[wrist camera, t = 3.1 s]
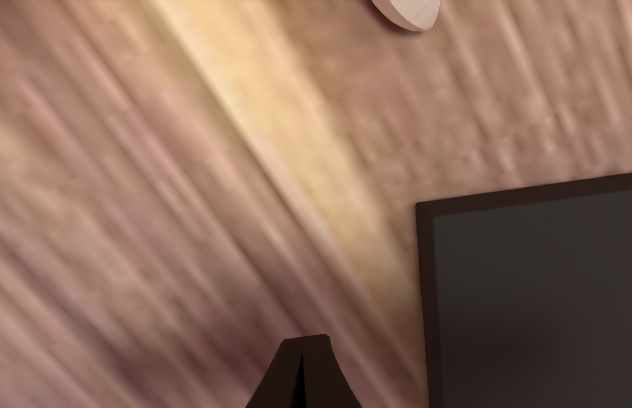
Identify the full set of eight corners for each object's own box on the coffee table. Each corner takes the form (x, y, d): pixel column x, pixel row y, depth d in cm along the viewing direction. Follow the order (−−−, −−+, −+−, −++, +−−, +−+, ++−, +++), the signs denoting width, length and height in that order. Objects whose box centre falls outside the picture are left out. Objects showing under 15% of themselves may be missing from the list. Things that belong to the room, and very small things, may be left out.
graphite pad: (429, 415, 12) (445, 455, 11) (414, 202, 10) (431, 217, 9) (725, 378, 12) (782, 414, 11) (770, 153, 10) (847, 159, 9)
